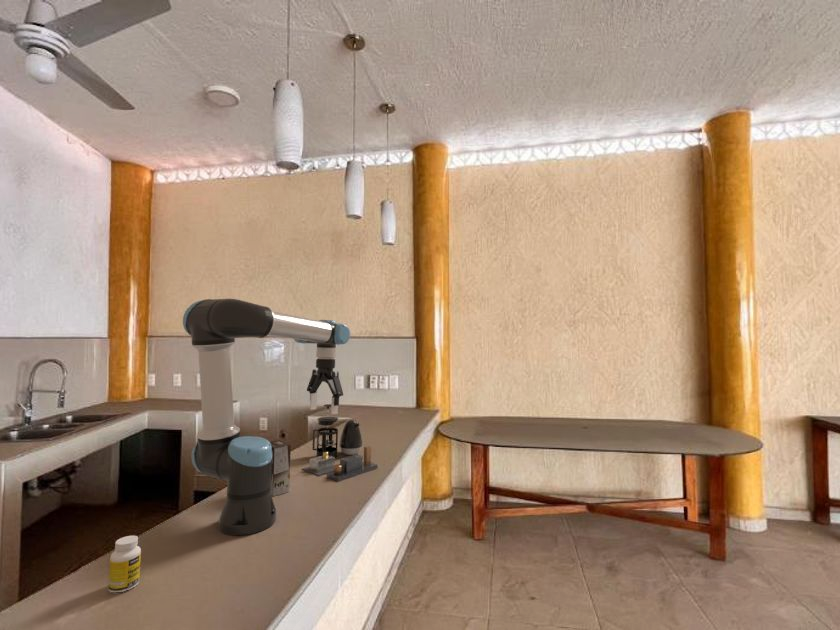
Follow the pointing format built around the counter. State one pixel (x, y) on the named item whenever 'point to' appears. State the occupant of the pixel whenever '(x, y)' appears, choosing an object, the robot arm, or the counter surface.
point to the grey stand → (352, 466)
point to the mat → (318, 472)
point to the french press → (325, 421)
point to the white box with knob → (322, 462)
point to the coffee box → (280, 467)
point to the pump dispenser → (351, 438)
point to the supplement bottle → (124, 564)
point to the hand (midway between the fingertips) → (323, 411)
